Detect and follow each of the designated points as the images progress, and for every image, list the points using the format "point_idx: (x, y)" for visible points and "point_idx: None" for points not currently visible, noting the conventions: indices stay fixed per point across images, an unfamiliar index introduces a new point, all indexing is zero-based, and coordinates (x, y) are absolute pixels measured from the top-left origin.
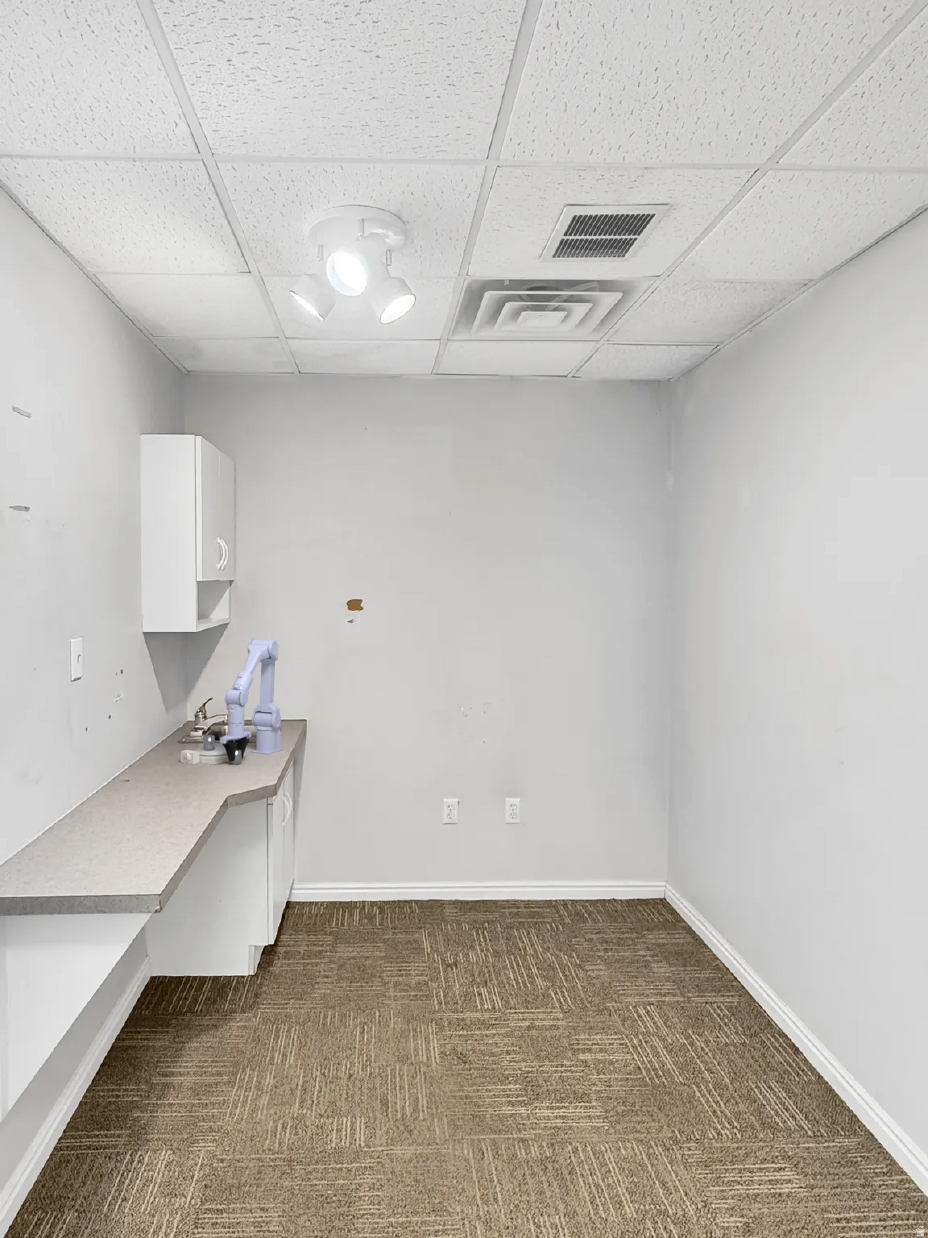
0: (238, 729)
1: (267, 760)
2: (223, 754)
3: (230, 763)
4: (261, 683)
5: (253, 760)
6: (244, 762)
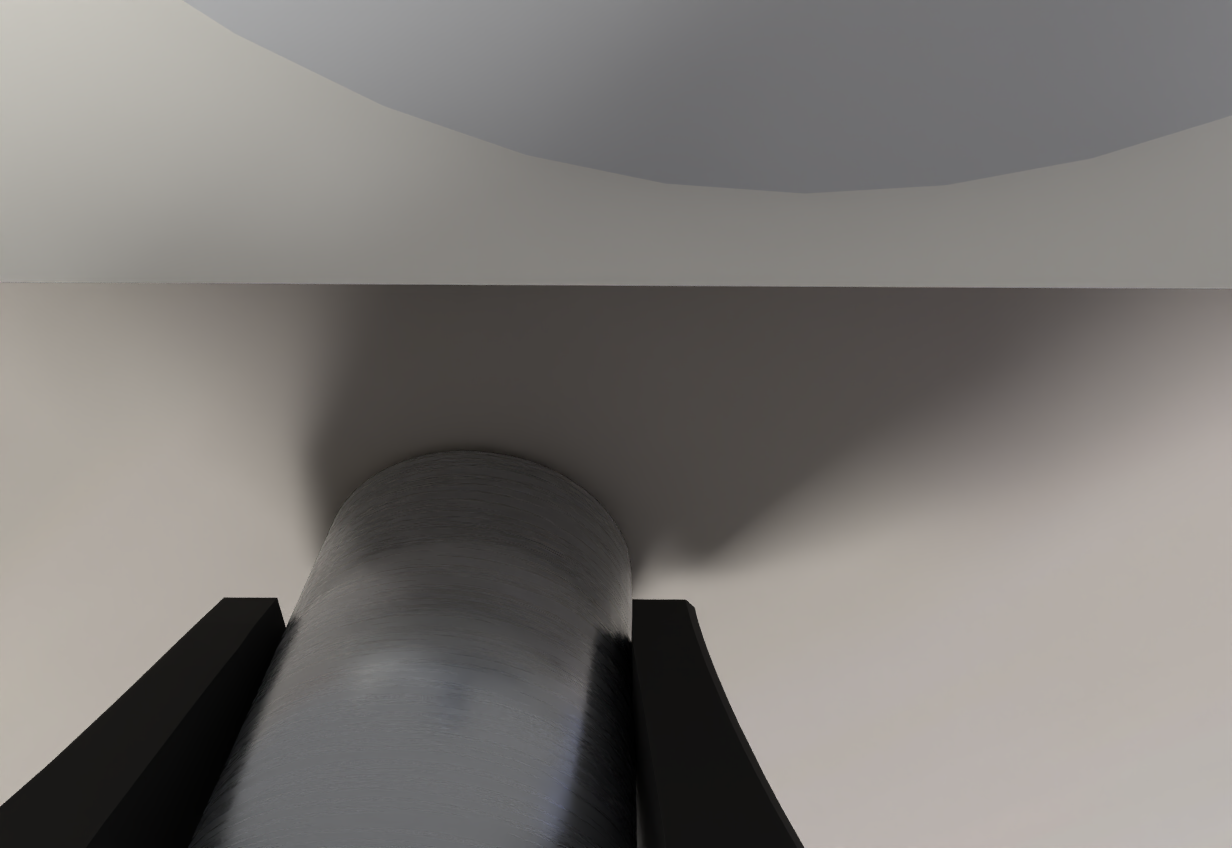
0: None
1: (1141, 816)
2: (462, 125)
3: (325, 542)
4: None
5: (1058, 638)
6: (771, 602)
